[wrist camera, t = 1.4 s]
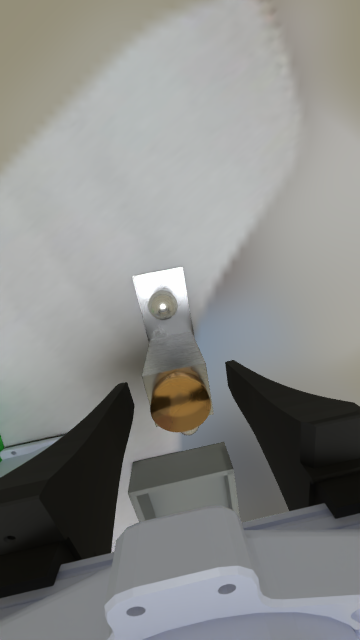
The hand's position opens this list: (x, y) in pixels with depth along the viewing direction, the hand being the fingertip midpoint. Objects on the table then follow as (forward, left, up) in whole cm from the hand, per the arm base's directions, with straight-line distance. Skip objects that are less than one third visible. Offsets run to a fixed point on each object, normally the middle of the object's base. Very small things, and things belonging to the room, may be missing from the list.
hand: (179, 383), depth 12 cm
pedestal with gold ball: (0, 0, -5) cm, 5 cm away
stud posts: (0, 0, -5) cm, 5 cm away
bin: (-2, -22, -5) cm, 23 cm away
